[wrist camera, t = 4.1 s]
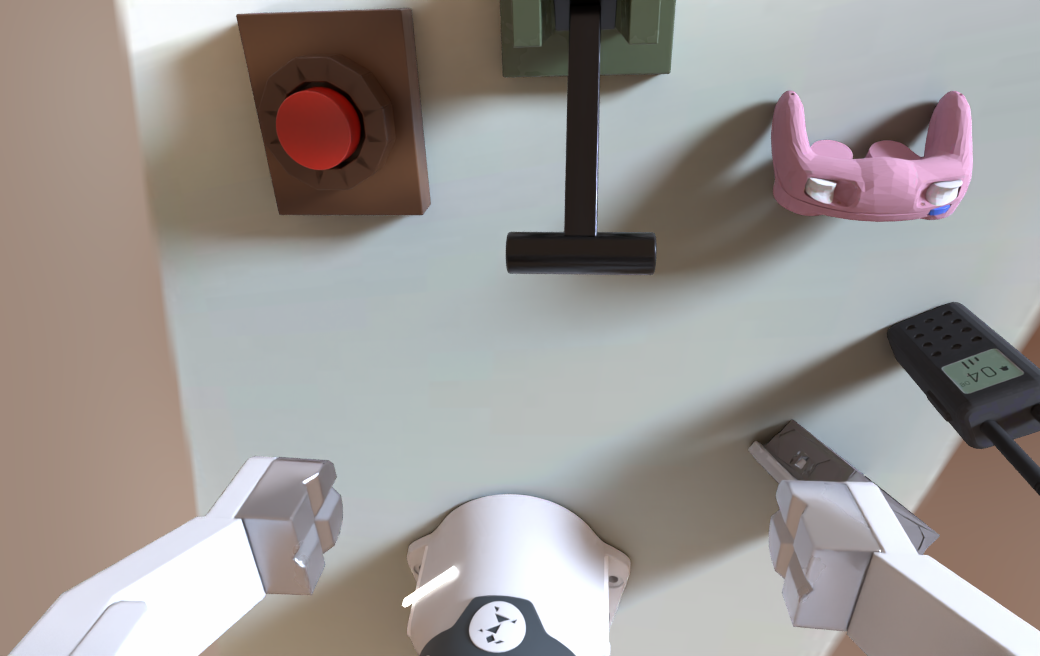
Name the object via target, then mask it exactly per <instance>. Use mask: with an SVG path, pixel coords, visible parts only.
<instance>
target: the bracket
mask: <svg viewBox="0 0 1040 656" xmlns="http://www.w3.org/2000/svg"><path fill="white" fill-rule="evenodd" d="M675 5H676V0H618V2H617V12H616V23H615V29H607V30H601V47H600V75H636V74H669V73H670V70H671V57H672V44H673V31H674V18H675ZM500 16H501V41H502V67H503V77H539V76H568V44H569V31H556V29H555V17H554V4H553V0H500Z"/></svg>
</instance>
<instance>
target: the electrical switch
mask: <svg viewBox="0 0 1040 656" xmlns="http://www.w3.org/2000/svg"><path fill="white" fill-rule="evenodd" d="M748 451H749V452H750V453H751V454H752V456H753V457H754V458H755V459H756V460H757V462H758V463H759V464H760V465H761V466H762V467H763V468H764V469H765V470H766V471H767V472H768V473H769V474H770V475H771V476H772V477H773V478H774V479H775V480H776V481H777V482H778V483H779V484H780V482H781V480H799V481H827V482H872V481H871V480H870V479H869V478H867V477H866V476H863V475H864V474H862V473H861V472H860V471H858V470H857V469H856V468H855V467H853V466H852V465H851V464H849V463H848V462H847V461H846V460H844V459H843V458H842V457H840V456H839V455H838V454H837V453H835V452H834V451H833V450H831V449H830V448H829V447H828V446H826V445H825V444H824V443H822V442H821V441H820V440H819V439H817V438H816V437H815V436H813V435H812V434H811V433H810V432H808V431H807V430H806V429H804V428H803V427H802V426H801V425H799V424H798V423H797V422H795V421H794V420H793V419H792V420H791V421H790V422H789V423H788V424H787V426H786V427H785V428H784V429H783V430H782V431H781V432H780V433H778V434H777V435H776V436H774V437H773V439H772V440H771V441H770V442H769V443H768V444H766V445H765V446H763V445H761V444H760V443H759V442H757V441H754V443H753V444H752V445H751V446H750V448H749V450H748ZM872 483H874V482H872ZM874 484H875V483H874ZM875 485H876V484H875ZM878 488H879V489H880V491H881V493H882V494H883V496H884V498H885V499H886V501H887V503H888V504H889V506H890V508H891V509H892V511H893V513H894V514H895V516H896V518H897V519H898V521H899V523H900V524H901V526H902V528H903V529H904V531H905V533H906V534H907V536H908V538H909V539H910V541H911V543H912V544H913V546H914V548H915V549H916V551H917V553H918V554H919V555H923V554H924V551H925V550H926V549H927V548H928V547H929V546H930V545H931V544H932V543H933V542H934V541H935V540H936V539H937V538H938V537H939V536H940V535H939V534H937V533H936V532H935V531H934V530H932V529H931V528H930V527H929V526H927V525H926V524H925V523H924V522H922V521H921V520H920V519H919V518H917V517H916V516H915V515H914V514H912V513H911V512H910V511H909V510H907V509H906V508H905V507H904V506H902V505H901V504H900V503H899V502H897V501H896V500H895V499H894V498H892V497H891V496H890V495H889V494H887V493H886V492H885V491H884V490H882V489H881V488H880V487H879V486H878Z"/></svg>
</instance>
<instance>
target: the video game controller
mask: <svg viewBox="0 0 1040 656" xmlns="http://www.w3.org/2000/svg"><path fill="white" fill-rule="evenodd" d="M771 144H772V158H773V166H774V174H775V183H774V187H773V194H774V198H775V200H776V201H777V202H778V203H779V204H780V205H781V206H782V207H784V208H786V209H787V210H790V211H792V212H794V213H796V214H800V215H805V216H818V215H827V216H831V217H837V218H843V219H849V220H859V221H875V222H883V221H903V220H913V219H919V218H920V219H927V220H935V219H941V218H945V217H947V216H949V215H951V214H952V213H953V212H954V210H955V209H956V207H957V206H958V204H959V203H960V201H961V200H962V199H963V197H964V195H965V193H966V191H967V189H968V185H969V183H970V180H971V175H972V166H973V161H972V125H971V112H970V106H969V104H968V102H967V100H966V98H965V97H964V95H963V94H961V93H959V92H957V91H950V92H948V93H947V94H945V95H944V96H943V97H942V98H941V99H940V100H939V103H938V104H937V106H936V108H935V109H934V112H933V114H932V117H931V120H930V123H929V128H928V133H927V138H926V144H925V152H924V157H920V156H918V155H917V154H915V153H914V152H913V151H911V150H910V149H909V148H908V147H907V146H905V145H903V144H902V143H899V142H895V141H879V142H876V143H874V144H872V145H871V147H870V149H869V151H868V153H867V155H866V157H865V158H863V159H853V154H852V151H851V150H850V148H849V147H848V146H846V145H845V144H842V143H840V142H837V141H832V140H820V141H817V142H815V143H813V145H812V146H811V148H810V146H809V142H808V138H807V133H806V126H805V117H804V108H803V105H802V103H801V100H800V98H799V97H798V95H797V94H796V93H795V92H794V91H786V92H785V93H783V94H782V96H781V97H780V98H779V100H778V102H777V103H776V106H775V110H774V114H773V120H772V130H771Z"/></svg>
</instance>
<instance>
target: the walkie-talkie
mask: <svg viewBox="0 0 1040 656" xmlns="http://www.w3.org/2000/svg"><path fill="white" fill-rule="evenodd" d="M887 337H888V340H889V342H890V345H891V348H892V350H893V353H894V355H895V358H896V360H897V361H898V362H899V363H900V365H901V366H902V367H903V368H904V369H905V370H906V372H907V373H908V374H909V375H910V376H911V378H912V379H913V380H914V381H915V382H916V384H917V385H918V386H919V387H920V388H921V390H922V391H923V392H924V393H925V394H926V396H927V398H928V400H929V401H930V402H931V404H932V405H933V406H934V407H935V408H936V410H937V411H938V412H939V413H940V414H941V415H942V417H943V418H944V419H945V420H946V421H947V422H949V423H950V424H951V425H952V426H953V428H954V429H955V430H956V431H957V432H958V434H959V435H960V436H961V437H962V438H963V440H964V441H965V442H966V443H967V444H968V445H969V446H971V447H973V448H976V449H983V448H988V447H991V446H994V445H995V446H996V448H997V449H998V450H999V451H1000V452H1001V453H1002V454H1003V455H1004V456H1005V457H1006V459H1007V460H1008V461H1009V462H1010V463H1011V464H1012V465H1013V466H1014V467H1015V469H1016V470H1017V471H1018V472H1019V473H1020V474H1021V475H1022V476H1023V478H1024V479H1025V480H1026V481H1027V482H1028V483H1029V484H1030V485H1031V487H1032V488H1033V489H1034V490H1035V491H1036V492H1037V493H1038V494H1039V495H1040V467H1039V466H1038V465H1037V464H1036V463H1035V462H1034V461H1033V460H1032V459H1031V458H1030V457H1029V456H1028V455H1027V454H1026V453H1025V452H1024V451H1023V450H1022V449H1021V447H1020V446H1019V445H1018V444H1017V443H1016V442H1015V441H1014V440H1013V439H1016V438H1019V437H1022V436H1026V435H1029V434H1032V433H1035V432H1038V431H1040V369H1039V368H1038V367H1037V366H1036V365H1035V364H1033V363H1032V362H1031V361H1030V360H1029V359H1027V358H1026V357H1025V356H1024V355H1023V354H1021V353H1020V352H1019V351H1018V350H1017V349H1015V348H1014V347H1013V346H1012V345H1011V344H1009V343H1008V342H1007V341H1006V340H1005V339H1003V338H1002V337H1001V336H1000V335H999V334H997V333H996V332H995V331H994V330H992V329H991V328H990V327H989V326H988V325H986V324H985V323H984V322H983V321H982V320H980V319H979V318H978V317H977V316H976V315H974V314H973V313H972V312H971V311H970V310H968V309H967V308H966V307H965V306H964V305H962V304H960V303H958V302H952V303H948V304H945V305H942V306H940V307H937V308H935V309H932V310H930V311H927V312H925V313H922V314H920V315H917V316H915V317H912V318H910V319H907V320H905V321H902V322H900V323H897V324H895V325H893V326H892V327H891V328H890V329H889V330H888V333H887Z"/></svg>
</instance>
